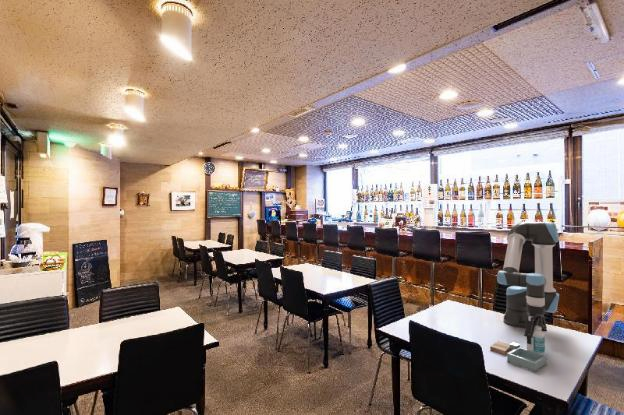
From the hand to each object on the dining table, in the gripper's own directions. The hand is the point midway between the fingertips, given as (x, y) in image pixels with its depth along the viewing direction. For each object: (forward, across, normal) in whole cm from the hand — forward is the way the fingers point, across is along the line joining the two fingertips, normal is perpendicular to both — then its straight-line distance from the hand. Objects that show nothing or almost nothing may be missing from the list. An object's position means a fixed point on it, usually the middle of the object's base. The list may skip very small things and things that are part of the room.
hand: (535, 346), depth 158 cm
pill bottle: (+3, 0, 0) cm, 3 cm away
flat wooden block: (+4, +10, -12) cm, 16 cm away
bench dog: (+3, +10, -6) cm, 12 cm away
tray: (+3, +15, +2) cm, 15 cm away
